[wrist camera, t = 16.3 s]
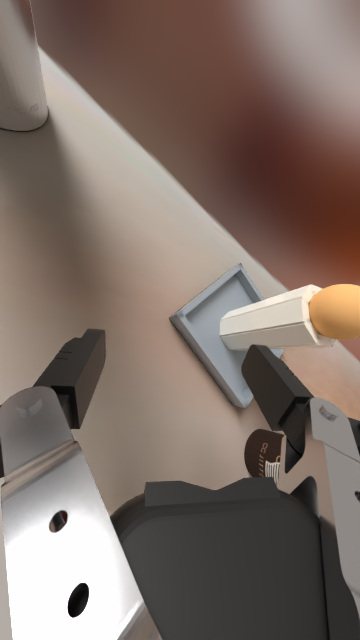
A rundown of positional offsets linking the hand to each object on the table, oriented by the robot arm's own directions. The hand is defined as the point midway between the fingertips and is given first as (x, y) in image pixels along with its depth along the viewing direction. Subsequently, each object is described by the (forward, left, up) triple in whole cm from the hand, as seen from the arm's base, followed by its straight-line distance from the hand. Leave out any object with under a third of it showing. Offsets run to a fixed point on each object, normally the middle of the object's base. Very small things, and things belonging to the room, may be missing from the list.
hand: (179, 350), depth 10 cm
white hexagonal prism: (+7, +14, -13) cm, 20 cm away
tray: (+7, +14, -14) cm, 21 cm away
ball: (+7, +14, +1) cm, 16 cm away
